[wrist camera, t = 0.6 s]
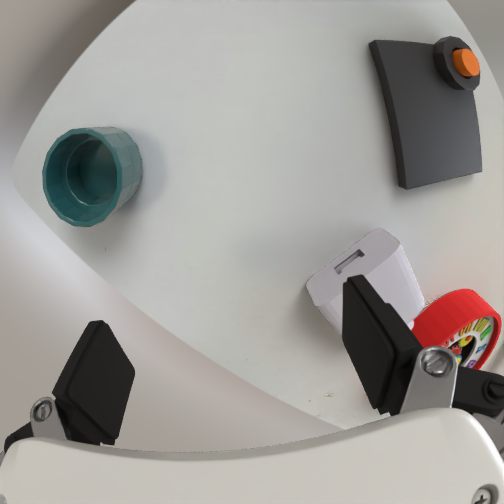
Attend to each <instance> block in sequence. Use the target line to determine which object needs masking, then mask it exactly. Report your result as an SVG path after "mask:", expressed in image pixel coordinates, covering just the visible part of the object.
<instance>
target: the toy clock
mask: <svg viewBox="0 0 504 504" xmlns="http://www.w3.org/2000/svg"><path fill="white" fill-rule="evenodd" d="M413 321H414V326H413V328H412V330H411V331H412V332H413V334H414V335H415V336H416V338H417V339H418V341H419V342H420V343H421V345H422V346H423V348H424V349H425V348H427V347H429V346H442V347H445V348H447V349H449V350H451V351H452V352H453V353H454V355H455V356H456V358H457V362H458V365H459V366H464V367H468V368H472V369H477V370H479V369H480V368H481V367H482V365H483V364H484V363H485V361H486V360H487V359H488V357H489V356H490V354H491V352H492V350H493V349H494V347H495V345H496V343H497V340H498V338H499V335H500V331H501V326H502V324H501V317H500V315H499V314H498V313H497V312H496V311H495V310H494V309H493V308H492V307H491V306H490V305H489V304H488V303H486V302H485V301H484V300H483V299H482V298H481V297H480V296H479V295H478V294H477V293H476V292H475V291H473V290H470V289H459V290H455V291H452V292H450V293H448V294H445V295H444V296H442V297H441V298H439V299H437V300H436V301H434V302H433V303H432V304H430V305H429V306H428V307H426V308H425V309H424V310H423V311H422V312H421V313H419V315H418V316H417V317H416V318H414V319H413Z"/></svg>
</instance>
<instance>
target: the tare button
mask: <svg viewBox="0 0 504 504" xmlns="http://www.w3.org/2000/svg"><path fill="white" fill-rule="evenodd" d="M452 60H453V63H454V66H455V68H456V70H457V71H458V72H459V73H460V74H461V75H463V76H476V75H478V74H479V70H480V68H479V63H478V60H477V58H476V56H475V55H474V53H473V52H472V51H470V50H469V49H461V50H455V51H454V52H453V54H452Z"/></svg>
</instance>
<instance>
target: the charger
mask: <svg viewBox="0 0 504 504" xmlns="http://www.w3.org/2000/svg"><path fill="white" fill-rule="evenodd" d="M360 274H363V275H364V276H365V278H366V279H367V280H368V281H369V283H370V284H371V285H372V286H373V288H374V289H375V290H376V292H377V293H378V294H379V295H380V297H381V298H382V299H383V301H384V302H385V303H390V304H391V305H392V306H393V307H394V309H395V310H396V311H397V313H398V314H399V315H400V316H401V318H402V319H403V320H404V322H405V323H406V324H407V326H408V327H409V328H410V330H412V328H413V326H414V321H413V319H414V318H416V317H417V316H418V315H419V313H420V311H421V310H422V308H423V307H424V305H425V301H424V298H423V295H422V293H421V290H420V288H419V285H418V282H417V280H416V278H415V275H414V273H413V270H412V268H411V266H410V263H409V261H408V259H407V256H406V254H405V252H404V250H403V247H402V245H401V243H400V241H399V240H398V239H397V238H395V237H394V236H393V235H391V234H390V233H389V232H388V231H386V230H385V229H384V228H378V229H376V230H374V231H372V232H370V233H369V234H367V235H366V236H365V237H363V238H362V239H361V240H359V241H358V242H357V243H355V244H354V245H353V246H352V247H350V248H349V249H348V250H346V251H345V252H344V253H342V254H341V255H340V256H338V257H337V258H336V259H334V260H333V261H332V262H330V263H329V264H328V265H326V266H325V267H323V268H322V269H321V270H319V271H318V272H317V273H316V274H314V275H313V276H312V277H311V278H310V279H309V281H308V282H307V284H306V287H307V289H308V291H309V293H310V296H311V298H312V300H313V302H314V305H315V306H316V307H317V308H318V309H319V310H320V312H321V313H322V314H323V315H324V316H325V317H326V319H327V320H328V321H329V322H330V323H331V325H332V326H333V327H334V328H335V329H336V330H337V332H338V333H339V334H340V335H341V336H342V310H343V283H344V282H347V278H348V277H351V276H355V275H360Z"/></svg>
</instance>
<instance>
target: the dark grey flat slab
mask: <svg viewBox="0 0 504 504" xmlns="http://www.w3.org/2000/svg"><path fill="white" fill-rule="evenodd" d="M369 47H370V50H371V53H372V56H373V59H374V62H375V66H376V69H377V73H378V76H379V80H380V84H381V87H382V91H383V95H384V100H385V104H386V108H387V113H388V118H389V123H390V128H391V133H392V139H393V145H394V151H395V158H396V165H397V173H398V181H399V187H402V188H404V189H406V190H407V189H411V188H415V187H419V186H423V185H428V184H432V183H436V182H440V181H444V180H448V179H453V178H457V177H461V176H465V175H470V174H474V173H478V172H482V156H481V143H480V133H479V125H478V118H477V111H476V105H475V100H474V95H473V90H475V89H476V87H477V86H478V85H479V82H480V70H479V74H478V75H476V76H463V75H461V74H460V73H459V72H458V71H457V70H456V68H455V66H454V63H453V60H452V54H453V52H454V51H455V50H461V49H469V50H470V51H472V50H471V49H470V47H469V46H468V45H467V44H466V43H465V42H463V41H462V40H461V39H460V38H457V37H452V36H449V37H445V38H441V39H440V40H439V41H437V42H436V43H435V45H434V44H426V43H418V42H407V41H393V40H374V41H372V42H370V43H369Z"/></svg>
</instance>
